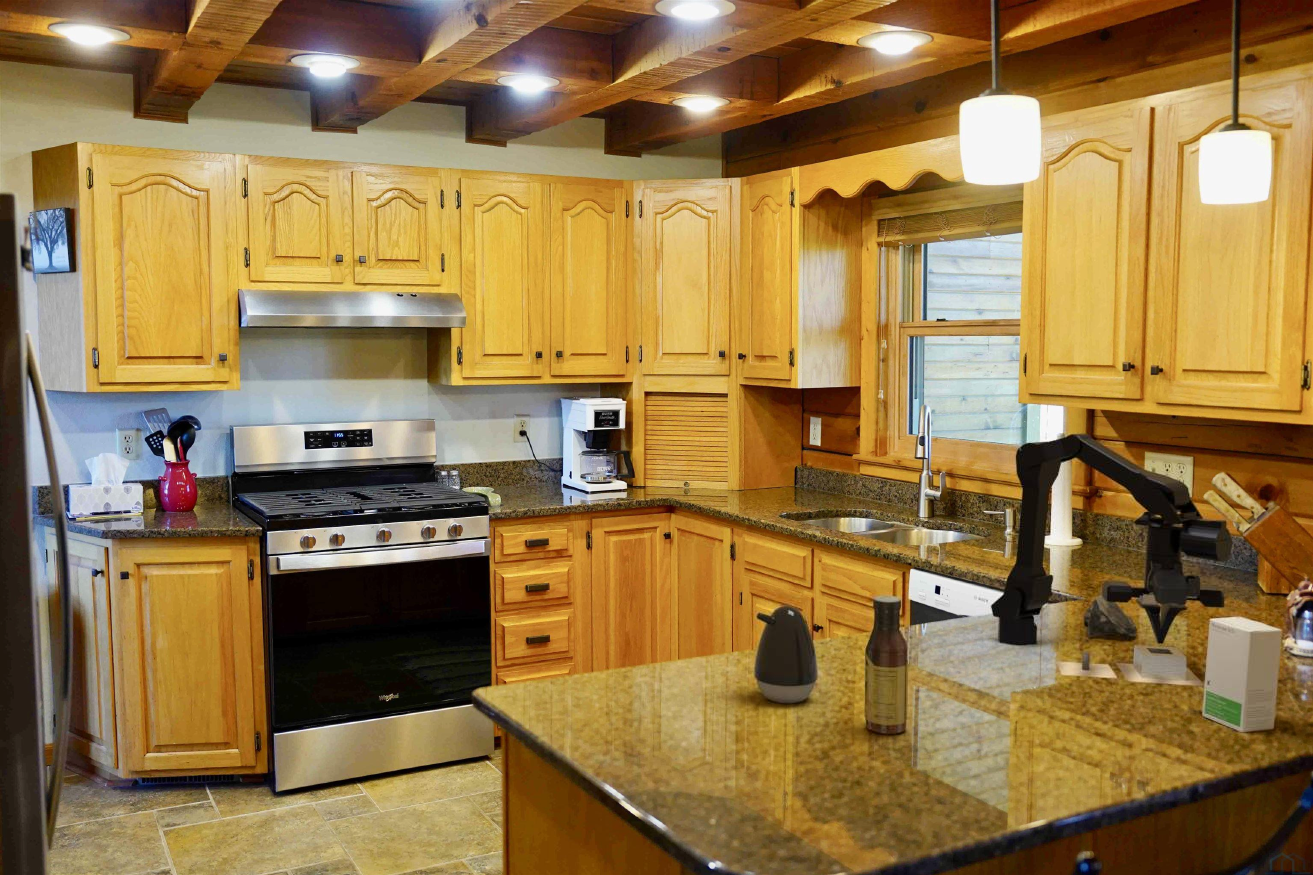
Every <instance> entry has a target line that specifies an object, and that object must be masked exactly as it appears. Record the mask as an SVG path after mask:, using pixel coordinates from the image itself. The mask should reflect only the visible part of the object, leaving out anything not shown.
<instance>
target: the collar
mask: <svg viewBox="0 0 1313 875" xmlns="http://www.w3.org/2000/svg"><path fill="white" fill-rule="evenodd" d="M1132 660H1133V662H1132V664H1133V668H1134V669H1135V670H1136V672H1137V673H1138V674H1139V676H1140V677H1141V678H1146V679H1163V680H1179V681H1186V667H1187V660H1188V659H1187V657H1186V655H1185V654H1184V653H1183V652H1182V651H1181V650H1180V649H1179V648H1177V647H1175V646H1174V647H1172V646H1155V645H1140V644H1139V645H1137V644H1134V645H1133V658H1132Z"/></svg>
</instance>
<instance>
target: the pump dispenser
mask: <svg viewBox="0 0 1313 875" xmlns="http://www.w3.org/2000/svg"><path fill="white" fill-rule="evenodd" d="M756 619H757V620H759V621H761V622H763V623H765V625H764V628H763V630H762V633H761V635H760V639H759V642H758V646H757V649H756V654H755V660H754V668H753V669H754V671H753V672H754V673H753V676H754V679H755V680H756V684H757V687H758V689H759V691H760V692H761V694H762V695H763V696H764V697H765V698H766V699H767V700H770V701H772V702H774V703H779V704H797V703H800V702H802V701H804V700H806V699H807V698H808V697H809V696H810V695H811V694H812V692H813V690H814V689H815V688H814V687H815V685H816V682H817V681H818V676H819V674H818V672H819V670H818V662H817V653H816V648H815V643H814V639H813V637H812V634H811V631H810V627H809V625H808V622H807V620H806V619H805V617H804V615H803V613H802V612H801V611H800V610H799V609H797V608H796V607H795V606H792V605H781V606H779V607H777V608H775V609H774V611H772V613H771V614H770V615H769V614H766V613H762V612H758V613H757V614H756Z"/></svg>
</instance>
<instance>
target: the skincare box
mask: <svg viewBox="0 0 1313 875" xmlns="http://www.w3.org/2000/svg"><path fill="white" fill-rule="evenodd" d="M1282 635H1283V629H1280V628H1278V627H1274V626H1271V625H1268V624H1265V623H1263V622H1260V621H1256V620H1252V619H1248V618H1246V617H1242V616H1231V617H1218V618H1209V627H1208V638H1207V639H1208V640H1207V649H1206V650H1207V651H1206V663H1205V664H1206V665H1205V674H1204V675H1205V676H1204V685H1205V686H1203V687H1204V689H1203V700H1202V712H1201V713H1202V716H1203V718H1207V719H1209V720H1211V721H1214V722H1216V723H1219V724H1221V725H1223V726H1226V727H1228V728H1231V729H1234V730H1236V731H1238V732H1240V733H1250V732H1257V731H1265V730H1266V731H1267V730H1273V729H1274V728H1275V718H1276V706H1277V692H1278V682H1279V672H1280V670H1279V669H1280V661H1281V648H1282V647H1281V646H1282V638H1283V636H1282Z"/></svg>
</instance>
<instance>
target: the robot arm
mask: <svg viewBox="0 0 1313 875" xmlns="http://www.w3.org/2000/svg"><path fill="white" fill-rule="evenodd" d="M1015 453H1016V454H1015V468H1016V476H1017V478H1018V480H1019V482H1020V485H1021V490H1022V492H1021V501H1020V514H1019V524H1018V525H1019V526H1018V536H1017V545H1016V546H1017V548H1016V557H1015V558H1016V559H1015V563H1014V565H1013V567H1012V568H1011V571H1010V572H1009V573H1008V576H1007V578H1006V581H1005V586H1004V589H1003V594H1002V595H1001V596H999V598H998V599H996V600H995V601H994V602H993V603H992V604H991V605H990V608H991V612H992V616H993V617H995V618H998V622H997V623H998V624H997V625H998V628H997V630H998V632H997V640H998V643H999V644H1005V645H1010V646H1011V645H1012V646H1030V645H1031V646H1034V645H1035V646H1036V645H1037V644H1038V643H1037V642H1038V641H1037V640H1038V626H1037V624H1036V622H1035V617H1034V616H1039V615H1040V614H1041V611H1042V609H1043V607H1044V606H1045V605H1047V604H1048V602H1049V599H1050V597H1053V590H1052V589H1053V588H1052V587H1053V582H1054V575H1053V574H1047V572H1046V570H1045V567H1044V553H1045V552H1044V551H1045V543H1046V530H1047V520H1048V512H1049V511H1048V510H1049V501H1050V499H1049V498H1050V493H1051V492H1050V491H1051V488H1052V487H1053V485H1054V483H1055V482H1056V480H1057V478H1058V476H1059V474H1060V469H1061V466H1062V463H1066V462H1069V461H1072V460H1074V459H1077V460H1079V461H1081V462H1082V463H1083V464H1085V465H1087V466H1089V467H1091V468H1092V469H1093V470H1095V471H1097V472H1098V473H1100V474H1102V475H1104V476H1105V477H1106V478H1108V479H1110V480H1111V481H1113V482H1115V483H1117V484H1118V485H1120V486H1122V487H1123V488H1125V489H1126V490H1127V491H1128V492H1129V493H1130V495H1131V496H1132V498H1133V499H1134V500H1135V502H1137V503H1138V505H1140V506H1141V507H1142V508H1144V509H1145V511H1143V514H1142V515H1140V516H1139V517H1138V518H1137V519H1135V520H1134V522H1133V523H1134V524H1135V525H1136V526H1145V527H1146V538H1145V539H1146V540H1145V556H1144V579H1143V587H1141V586H1132V585H1130V584H1129V583H1128V581H1125V580H1124V581H1123V580H1105V581H1104V582H1103V583H1102V586H1101V595H1102V596H1103V597H1104V598H1105V600H1106V601H1109V602H1115V603H1123V604H1126V603H1128V602H1129V601H1131V600H1132V599H1133V598H1135V602H1136V604H1137V605H1138V606H1140V608H1142V609H1144V611H1145V612H1146V615H1147V617H1148V619H1149V622H1150V625H1151V629H1152V631H1153V635H1154V638H1155V641H1156V643H1157V644H1158V645H1159V644H1160V645H1162V644H1164V641H1165V640H1166V638H1167V636H1168V632H1169V631H1170V628H1171V626H1172V624H1173V622H1174V620H1175V619H1176V617H1177V615H1179V613H1181V612H1182V611H1185V612H1186V611H1188V606H1187V605H1186V604H1187V602H1188V601H1192V602H1193V601H1195V602H1199V603H1200V604H1202V605H1203V606H1204V607H1205V608H1219V609H1221V608H1223V609H1224V608H1225V593H1224V592H1223V591H1222V590H1221V589H1220V588H1218V587H1216V585H1211V584H1201V578H1200V576H1199V575H1193V574H1187V575H1185V574H1184V571H1183V554H1184V555H1185V556H1186V557H1188V558H1191V559H1192V558H1193V559H1200V560H1207V561H1214V562H1219V563H1224V562H1226V561H1228V558H1230V555H1231V553H1232V549H1233V539H1232V537H1231V536H1232V535H1231V533H1230V530H1229V528H1227V524H1228V523H1227V520H1223V519H1214V520H1213V519H1207V518H1206V519H1204V517H1203V516H1202V514H1201V512H1200V511H1199V510H1198V508H1197V506H1196V505H1195V503H1194V502H1193V500H1192V498H1191V497H1190V496H1191V495H1190V491H1189V487H1188V486H1187V484H1185V483H1184V482H1183V481H1181V480H1178V479H1176V478H1173V477H1170V476H1168V475H1165V474H1161V473H1157V472H1153V471H1150V470H1147V469H1145V468H1143V467H1141V466H1139V465H1138V464H1136V463H1134V461H1133V462H1132V461H1131V460H1129V459H1127V458H1126V457H1124V456H1122V455H1121V454H1119V453H1117V452H1115V451H1114V450H1113V449H1111V448H1109V447H1107V446H1105V445H1104V444H1102V443H1101V442H1099V441H1097V440H1095V439H1094V438H1093V437H1092V436H1090V435H1089V434H1087V433H1074V434H1073V433H1072V434H1069V435H1067V436H1064V437H1061V438H1058V439H1054V440H1050V441H1036V442H1027V443H1024V444H1021V446H1020V447H1018V448H1017V449H1016V452H1015Z"/></svg>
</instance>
